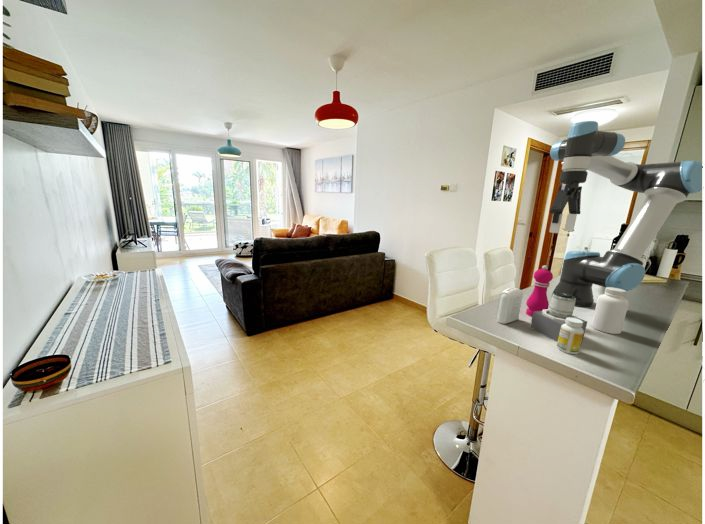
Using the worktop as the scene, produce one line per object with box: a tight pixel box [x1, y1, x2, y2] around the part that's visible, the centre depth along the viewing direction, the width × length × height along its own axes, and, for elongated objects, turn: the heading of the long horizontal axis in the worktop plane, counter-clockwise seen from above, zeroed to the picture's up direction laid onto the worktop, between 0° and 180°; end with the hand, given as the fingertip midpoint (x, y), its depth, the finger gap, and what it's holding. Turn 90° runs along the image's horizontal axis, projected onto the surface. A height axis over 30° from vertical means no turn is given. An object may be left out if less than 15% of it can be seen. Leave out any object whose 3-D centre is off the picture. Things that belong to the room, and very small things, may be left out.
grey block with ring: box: [529, 308, 588, 342], centre depth 94 cm, size 11×10×7 cm
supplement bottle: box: [556, 317, 584, 355], centre depth 83 cm, size 5×5×10 cm
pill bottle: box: [591, 287, 629, 335], centre depth 98 cm, size 8×8×15 cm
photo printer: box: [495, 287, 524, 325], centre depth 102 cm, size 10×4×12 cm, turn 123°
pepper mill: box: [525, 264, 554, 318], centre depth 108 cm, size 7×7×20 cm
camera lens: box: [549, 292, 576, 319], centre depth 93 cm, size 6×6×8 cm
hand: (561, 232), depth 102 cm, fingers open, 13 cm apart
